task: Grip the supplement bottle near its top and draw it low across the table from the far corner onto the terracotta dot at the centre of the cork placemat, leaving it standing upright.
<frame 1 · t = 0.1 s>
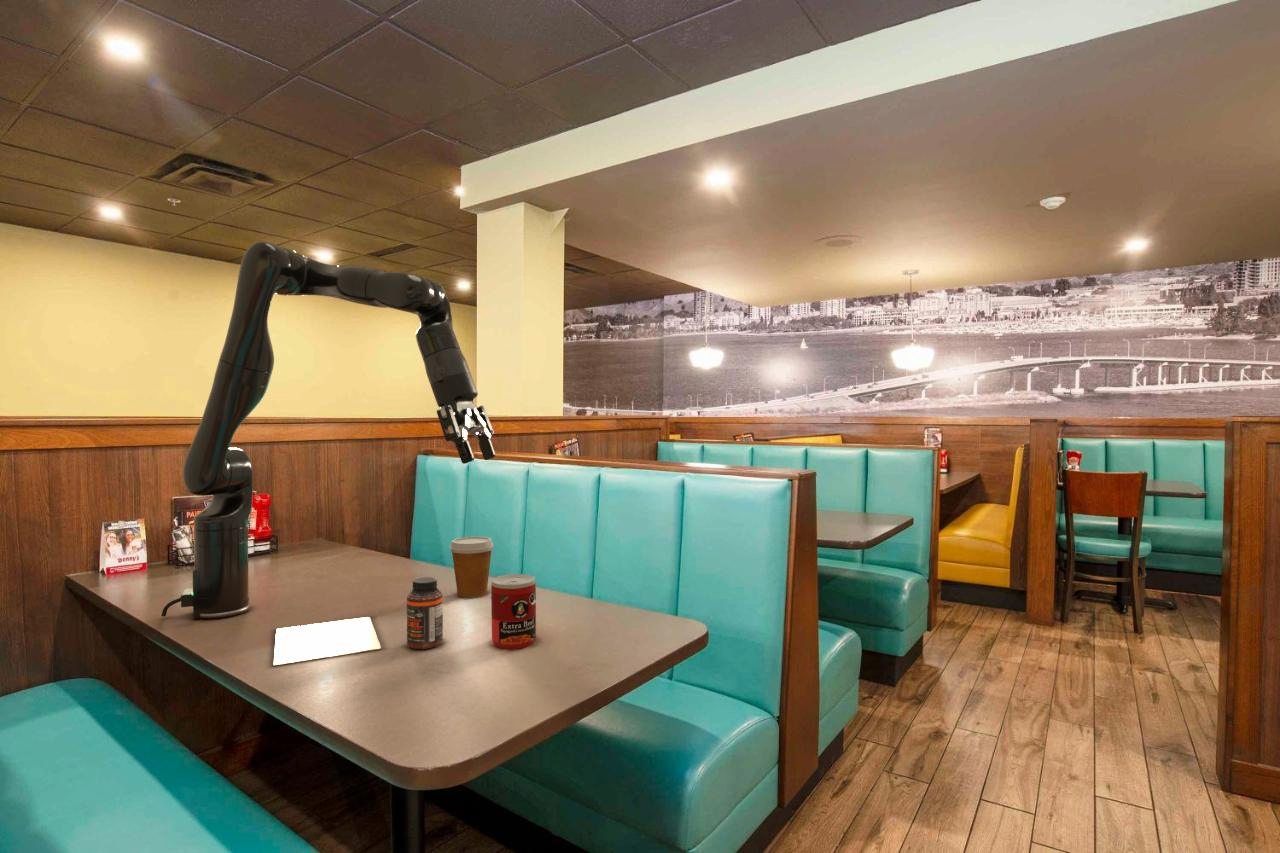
hand: (479, 460, 121), 31 cm above the table, tool tilted 20°, fingers open, 8 cm apart
supplement bottle: (425, 645, 115), on the table
canned food: (514, 642, 116), on the table
disposable coffee cup: (472, 594, 147), on the table
placemat: (326, 639, 118), on the table
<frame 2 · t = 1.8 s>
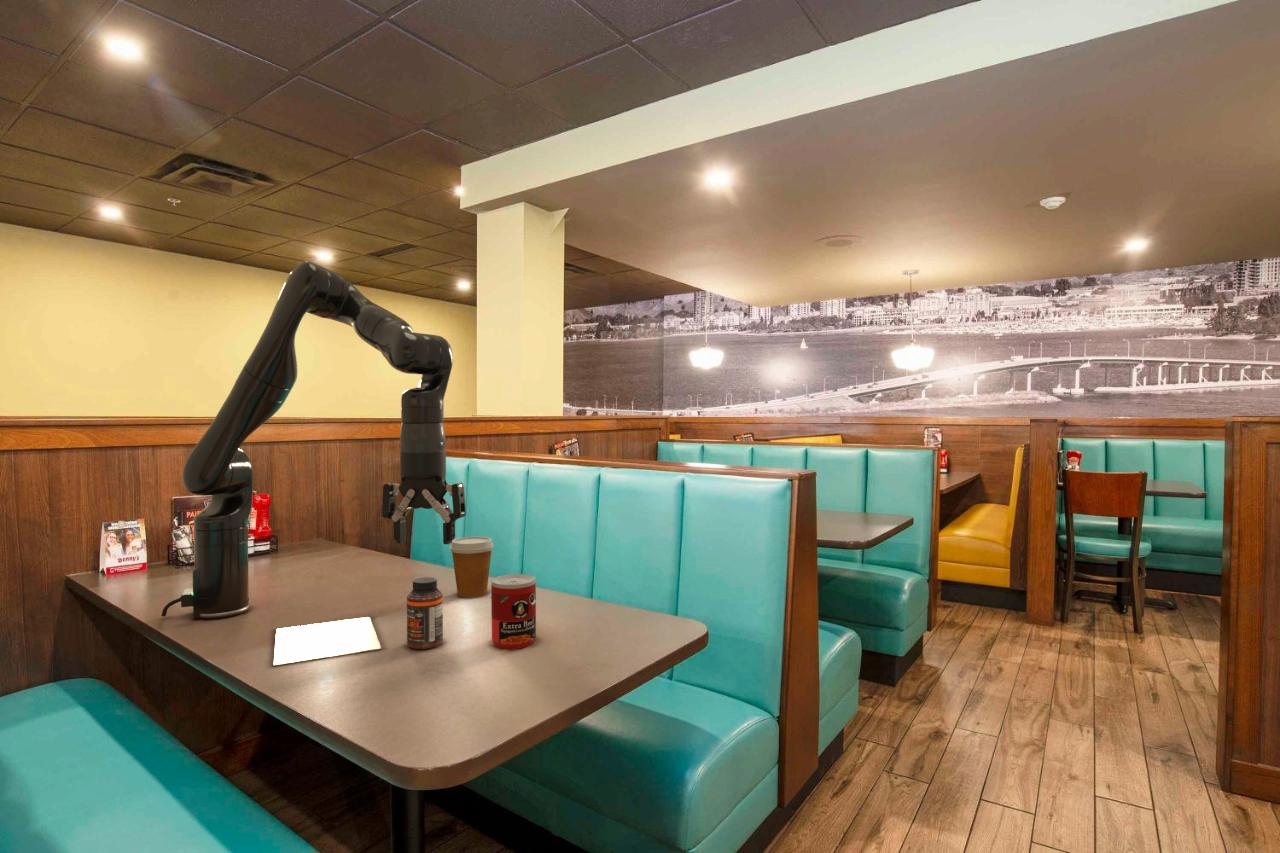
hand: (424, 543, 115), 18 cm above the table, tool pointing down, fingers open, 8 cm apart
nothing on the table moved.
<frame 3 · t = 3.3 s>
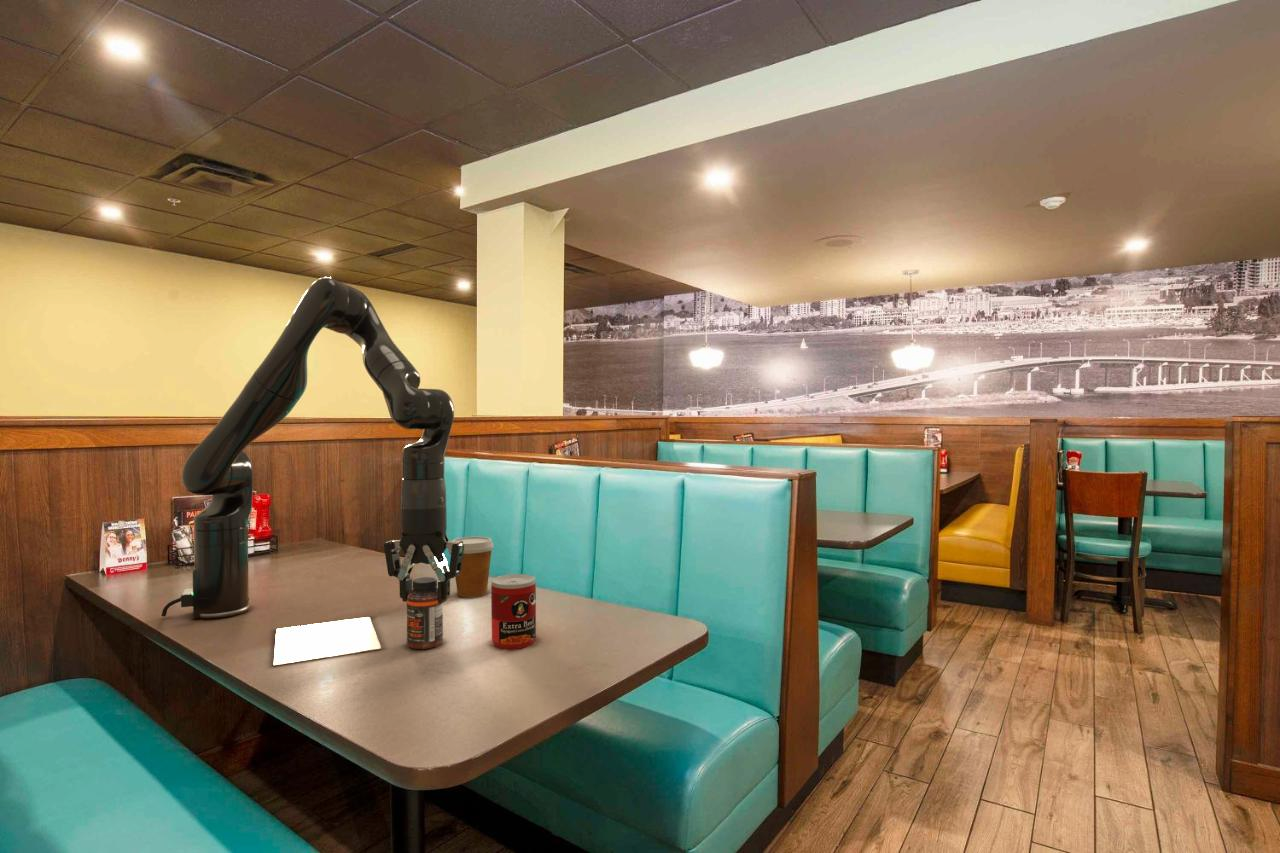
hand: (424, 600, 115), 8 cm above the table, tool pointing down, fingers closed on supplement bottle, 6 cm apart
supplement bottle: (425, 645, 115), on the table, touching gripper
everything else where it was.
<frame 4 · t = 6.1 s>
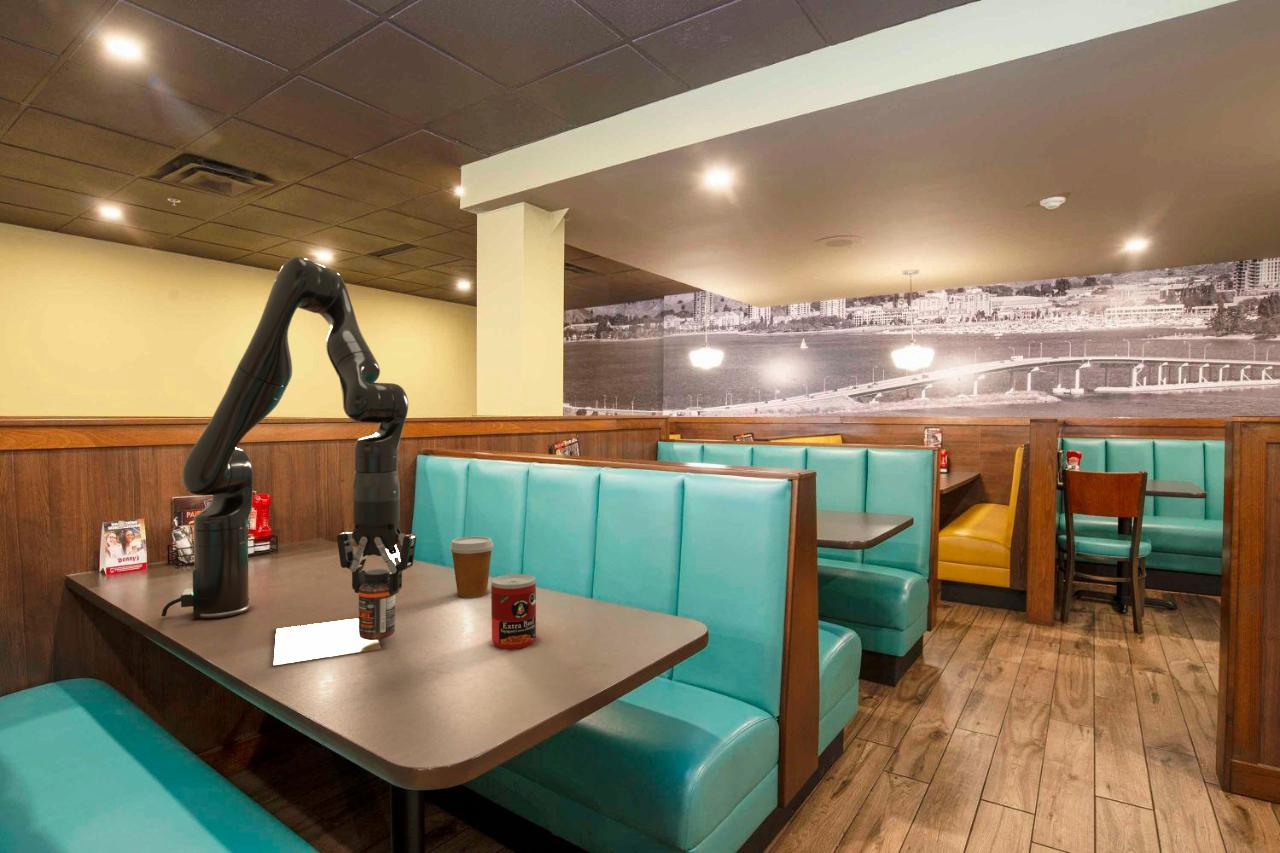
hand: (376, 592, 116), 9 cm above the table, tool pointing down, fingers closed on supplement bottle, 6 cm apart
supplement bottle: (376, 636, 116), point 1 cm above the table, touching gripper
everything else where it was.
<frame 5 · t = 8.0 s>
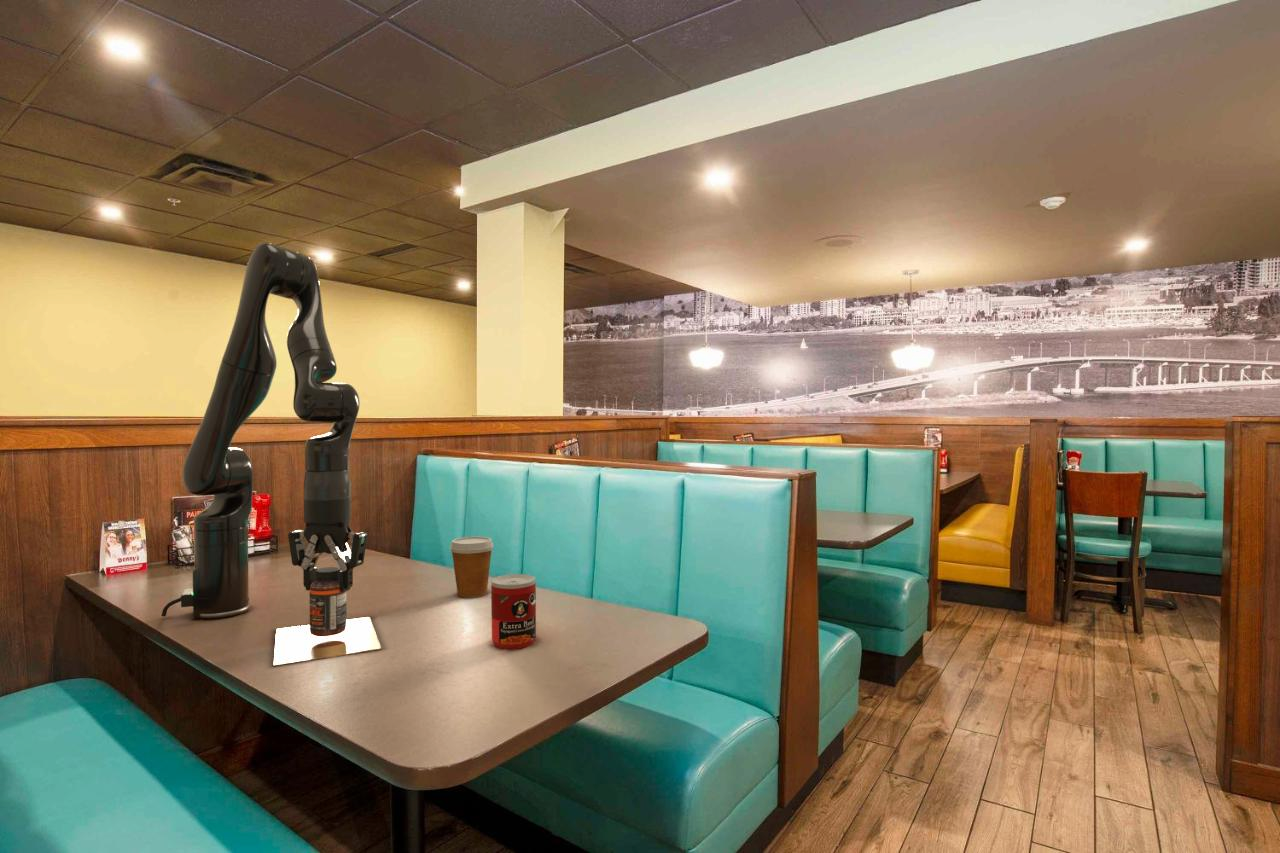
hand: (328, 589, 118), 9 cm above the table, tool pointing down, fingers closed on supplement bottle, 6 cm apart
supplement bottle: (328, 633, 118), point 1 cm above the table, touching gripper
everything else where it was.
when the fingers open (8 cm above the table, at t = 9.1 s): supplement bottle stays where it is, resting on placemat.
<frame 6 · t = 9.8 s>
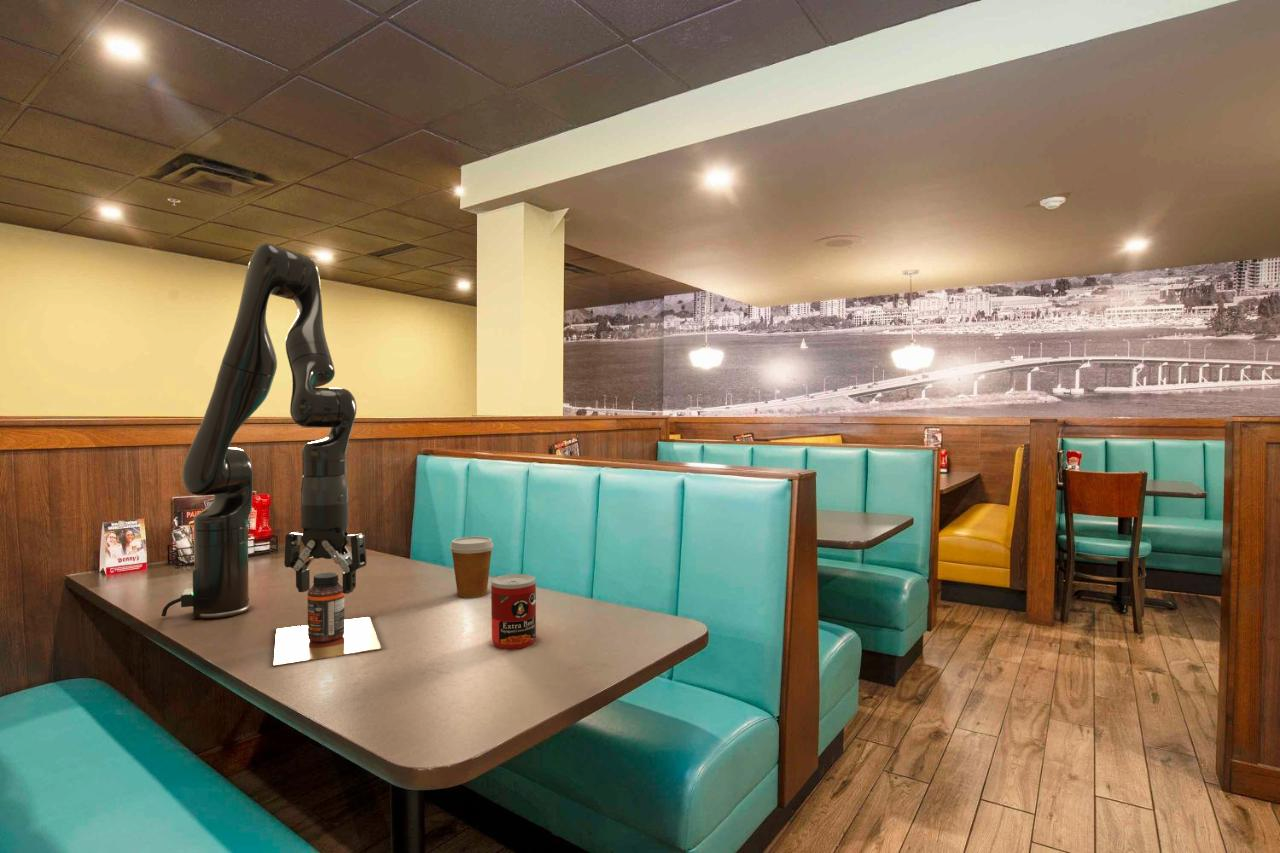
hand: (325, 591, 117), 8 cm above the table, tool pointing down, fingers open, 8 cm apart
supplement bottle: (326, 639, 118), resting on placemat
everything else where it was.
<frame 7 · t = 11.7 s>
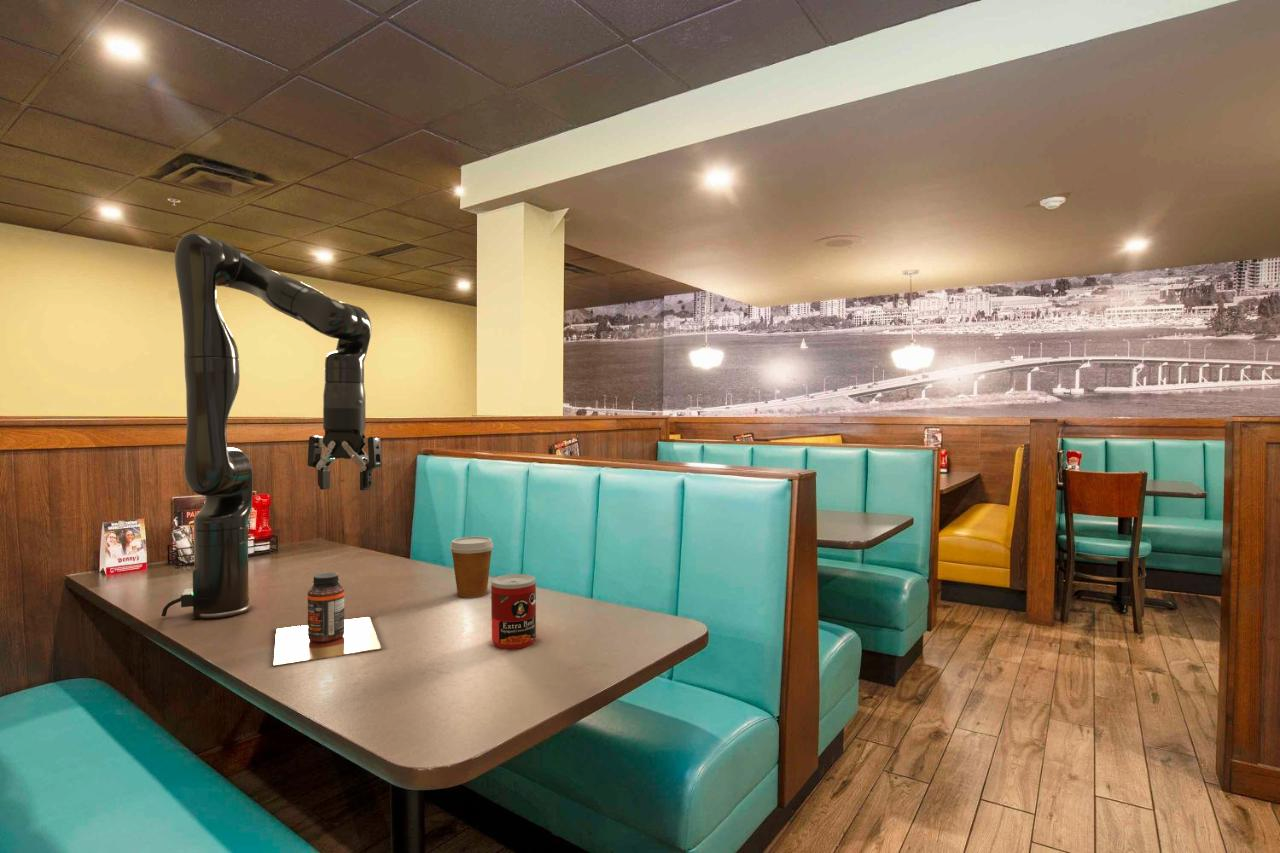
hand: (344, 489, 129), 25 cm above the table, tool pointing down, fingers open, 8 cm apart
nothing on the table moved.
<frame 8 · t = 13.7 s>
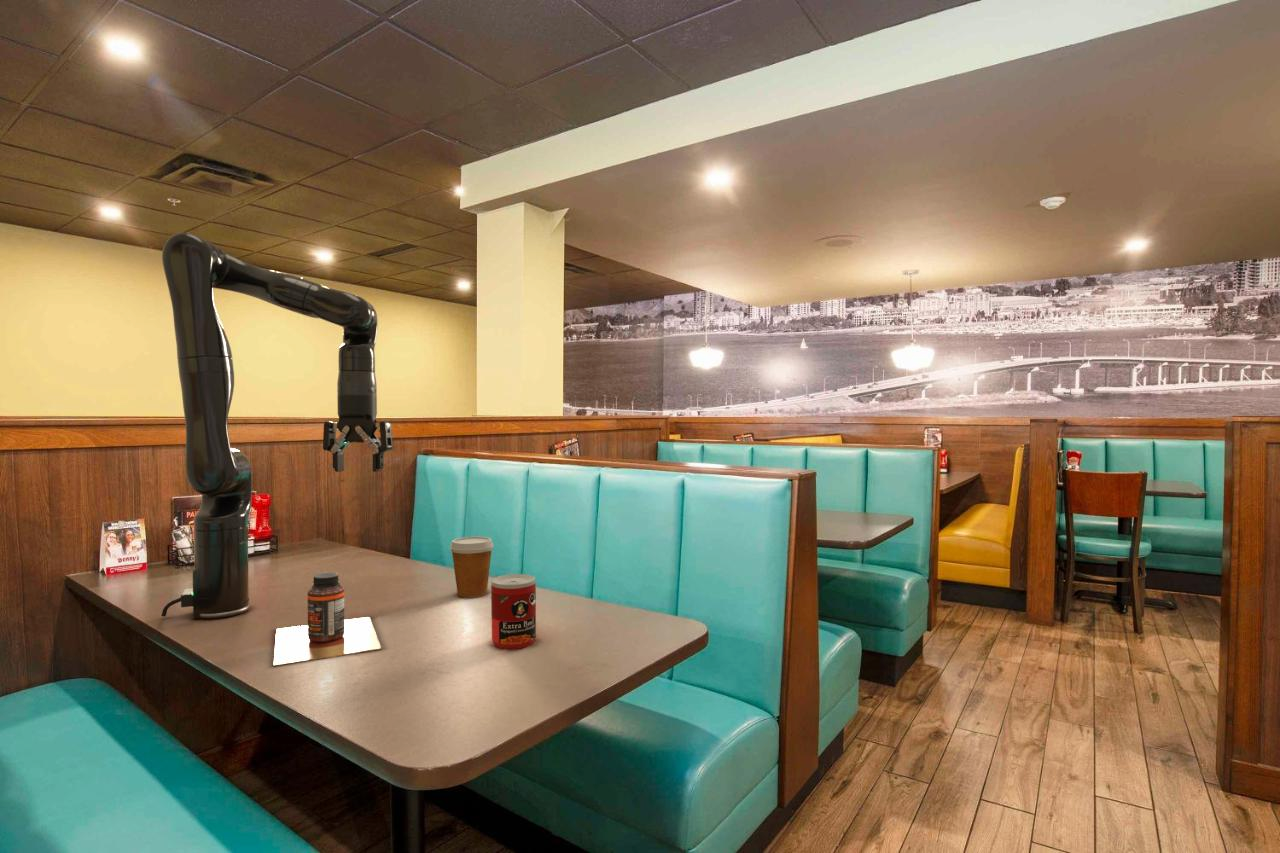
hand: (358, 471, 138), 28 cm above the table, tool pointing down, fingers open, 8 cm apart
nothing on the table moved.
at the end: supplement bottle 0.1 cm off-centre on the placemat, point 0.0 cm above the placemat's base; supplement bottle tilted 0°; supplement bottle moved 18.7 cm from its start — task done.
